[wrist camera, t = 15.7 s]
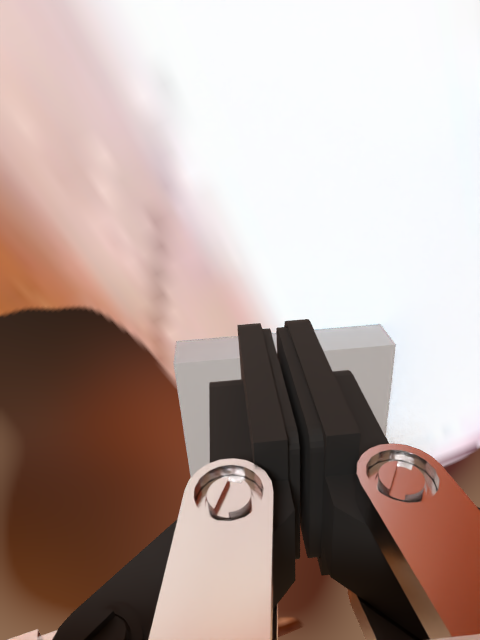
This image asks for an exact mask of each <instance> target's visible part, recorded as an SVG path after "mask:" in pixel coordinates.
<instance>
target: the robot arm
mask: <svg viewBox="0 0 480 640" xmlns="http://www.w3.org/2000/svg"><path fill="white" fill-rule="evenodd" d="M276 335H277V352H276V348H275V345H274V341H273V337H272V333H271V330H270V329H262V327H261V323H258V324H246V325H238V341H239V355H240V369H241V379H240V380H229V381H217V382H210V383H209V427H210V463H209V464H207V465H205V466H204V467H202V468H201V469H199V470H197V472H196V473H195V474H194V475H193V476H192V477H191V478H190V479H189V482H188V484H187V486H186V488H185V491H184V496H183V500H182V504H181V508H180V512H179V516H178V519H177V520H176V521H175V522H174V523H173V524H171V525H170V526H169V527H168V528H167V529H166V530H165V531H164V532H163V533H161V534H160V535H159V536H158V537H157V538H156V539H155V540H154V541H152V542H151V543H150V544H149V545H148V546H147V547H146V548H145V549H143V550H142V551H141V552H140V553H139V554H138V555H137V556H136V557H134V558H133V559H132V560H131V561H130V562H129V563H128V564H127V565H125V566H124V567H123V568H122V569H121V570H120V571H119V572H118V573H116V574H115V575H114V576H113V577H112V578H111V579H110V580H109V581H107V582H106V583H105V584H104V585H103V586H102V587H101V588H100V589H99V590H97V591H96V592H95V593H94V594H93V595H92V596H91V597H90V598H89V599H87V600H86V601H85V602H84V603H83V604H82V605H81V606H79V607H78V608H77V609H76V610H75V611H74V612H73V613H72V614H71V615H70V616H69V617H68V618H67V619H66V620H65V621H64V623H63V624H62V625H61V626H60V627H59V629H58V630H57V631H54V632H51V633H48V634H45V635H43V636H41V635H40V633H39V631H38V629H37V630H34V631H31V632H28V633H25V634H22V635H19V636H16V637H13V638H10V639H7V640H278V602H279V601H280V600H281V598H282V597H283V596H284V594H285V593H286V592H287V591H288V589H289V588H290V586H291V585H292V584H293V583H294V581H295V559H299V558H300V526H301V530H302V535H303V540H304V544H305V549H306V553H307V556H308V558H313V557H317V558H318V562H319V566H320V571H321V575H330V576H331V577H332V578H333V579H335V580H336V581H337V582H339V583H340V584H342V585H343V586H345V587H346V588H347V589H348V591H347V593H348V597H349V601H350V605H351V607H352V609H353V611H354V614H355V616H356V619H357V621H358V623H359V625H360V628H361V630H362V632H363V635H364V637H365V639H366V640H480V508H478V507H476V505H475V504H474V503H473V502H472V501H471V500H470V498H469V497H468V496H467V495H466V494H465V492H464V491H463V490H462V489H461V488H460V487H459V485H458V484H457V483H456V482H455V481H454V479H453V478H452V477H451V476H450V475H449V474H448V472H447V471H446V470H445V469H444V468H443V466H442V465H441V464H440V463H438V462H437V461H436V460H435V459H434V458H433V457H432V456H430V455H428V454H427V453H425V452H423V451H421V450H420V449H417V448H414V447H411V446H407V445H401V444H393V443H392V444H389V443H388V441H387V439H386V437H385V435H384V433H383V431H382V429H381V427H380V425H379V423H378V422H377V420H376V418H375V416H374V414H373V412H372V410H371V408H370V406H369V404H368V402H367V400H366V398H365V397H364V395H363V393H362V391H361V389H360V387H359V385H358V383H357V381H356V379H355V377H354V375H353V374H352V372H351V371H349V370H342V371H332V369H331V367H330V365H329V362H328V360H327V358H326V356H325V353H324V351H323V349H322V347H321V345H320V342H319V340H318V338H317V336H316V334H315V331H314V329H313V327H312V325H311V322H310V321H309V319H305V320H293V321H285V326H284V327H282V328H277V331H276Z"/></svg>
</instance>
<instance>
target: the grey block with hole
mask: <svg viewBox="0 0 480 640" xmlns="http://www.w3.org/2000/svg"><path fill="white" fill-rule="evenodd" d="M314 331H315V334H316V336H317V338H318V340H319V342H320V345H321V347H322V349H323V351H324V353H325V356H326V358H327V360H328V362H329V365H330V367H331V369H332V371H342V370H349V371H351V372H352V374H353V375H354V377H355V379H356V381H357V383H358V385H359V387H360V389H361V391H362V393H363V395H364V397H365V398H366V400H367V402H368V404H369V406H370V408H371V410H372V412H373V414H374V416H375V418H376V420H377V422H378V423H379V425H380V427H381V429H382V431H383V433H384V435H386V426H387V417H388V408H389V399H390V390H391V381H392V373H393V364H394V355H395V346H396V344H395V343H394V342H393V340H392V339H391V338H390V336H389V335H388V334H387V332H386V331H385V330H384V328H383V327H382V326H381V325H380V324H378V325H366V326H354V327H343V328H331V329H319V330H314ZM272 337H273V341H274V345H275V348H276V352H277V335H276V333H272ZM174 370H175V376H176V383H177V389H178V396H179V402H180V409H181V416H182V422H183V429H184V435H185V442H186V449H187V455H188V461H189V468H190V475H191V477H192V476H193V475H194V474H195V473H196V472H197V470H199V469H201V468H202V467H204V466H205V465H207V464H209V463H210V427H209V383H210V382H217V381H229V380H240V379H241V369H240V355H239V341H238V336H237V337H225V338H213V339H202V340H190V341H178V342H176V349H175V357H174Z"/></svg>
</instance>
